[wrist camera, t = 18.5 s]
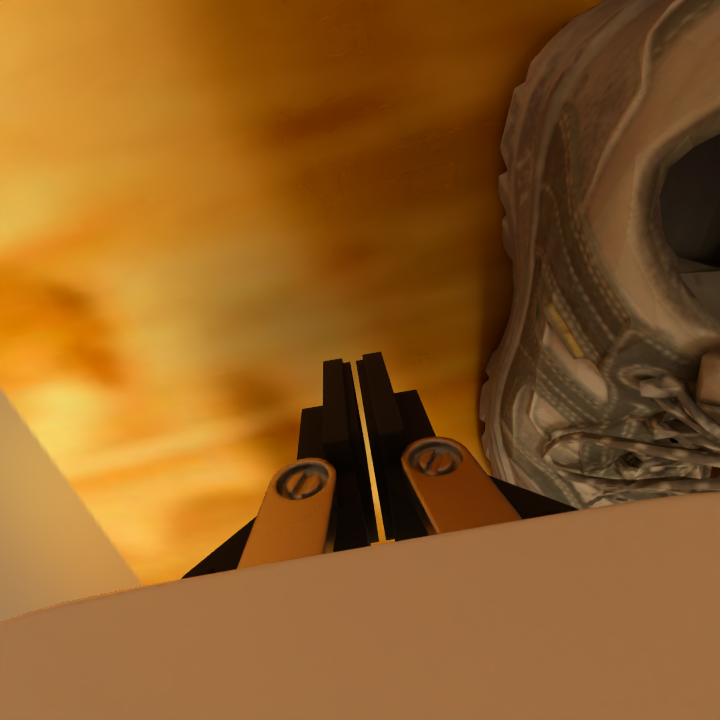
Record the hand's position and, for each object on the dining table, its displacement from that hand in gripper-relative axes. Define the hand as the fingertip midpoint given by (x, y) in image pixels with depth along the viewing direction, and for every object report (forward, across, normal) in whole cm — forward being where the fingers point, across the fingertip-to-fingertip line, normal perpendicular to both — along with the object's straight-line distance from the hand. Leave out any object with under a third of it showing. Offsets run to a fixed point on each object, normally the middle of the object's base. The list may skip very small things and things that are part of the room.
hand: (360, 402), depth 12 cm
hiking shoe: (+5, -9, +1) cm, 11 cm away
